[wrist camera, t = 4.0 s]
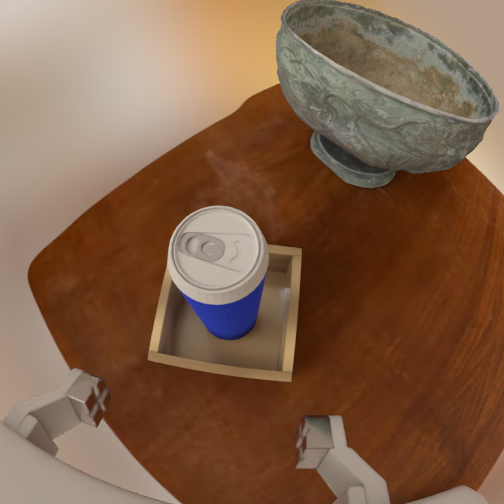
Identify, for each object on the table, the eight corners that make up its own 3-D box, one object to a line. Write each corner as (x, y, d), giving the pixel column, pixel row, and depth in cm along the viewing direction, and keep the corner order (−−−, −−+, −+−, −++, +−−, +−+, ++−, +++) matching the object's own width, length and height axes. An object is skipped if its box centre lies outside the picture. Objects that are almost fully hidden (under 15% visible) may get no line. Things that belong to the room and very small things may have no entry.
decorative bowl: (369, 93, 44) (396, 7, 26) (458, 198, 35) (528, 114, 17) (240, 119, 40) (235, 0, 22) (328, 264, 31) (409, 133, 12)
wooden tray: (283, 380, 25) (291, 381, 20) (163, 363, 25) (147, 359, 21) (293, 268, 29) (302, 248, 25) (184, 254, 30) (175, 233, 25)
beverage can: (261, 294, 28) (277, 209, 14) (251, 345, 26) (260, 309, 12) (210, 285, 28) (180, 194, 15) (198, 335, 26) (149, 286, 12)
